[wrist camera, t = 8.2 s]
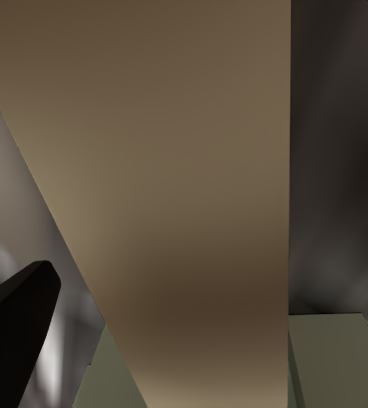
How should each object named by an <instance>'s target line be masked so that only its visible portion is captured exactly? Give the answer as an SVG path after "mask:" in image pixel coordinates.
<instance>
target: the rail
mask: <svg viewBox="0 0 368 408" xmlns="http://www.w3.org/2000/svg"><path fill="white" fill-rule="evenodd" d="M290 52H291V0H0V113H1V115H2V117H3V119H4V121H5V123H6V125H7V127H8V129H9V131H10V133H11V134H12V137H13V139H14V141H15V143H16V145H17V147H18V149H19V151H20V152H21V154H22V157H23V159H24V161H25V163H26V165H27V166H28V169H29V171H30V173H31V175H32V176H33V179H34V181H35V183H36V184H37V187H38V188H39V191H40V193H41V195H42V197H43V199H44V201H45V203H46V205H47V207H48V209H49V211H50V213H51V215H52V216H53V219H54V221H55V223H56V225H57V227H58V228H59V231H60V232H61V235H62V236H63V239H64V240H65V242H66V245H67V247H68V249H69V251H70V253H71V255H72V257H73V259H74V261H75V263H76V264H77V267H78V269H79V271H80V273H81V275H82V277H83V279H84V281H85V283H86V284H87V287H88V289H89V291H90V293H91V295H92V297H93V299H94V301H95V303H96V305H97V307H98V309H99V311H100V313H101V315H102V317H103V319H104V321H105V323H106V325H107V327H108V329H109V331H110V333H111V335H112V337H113V339H114V341H115V343H116V345H117V347H118V349H119V351H120V353H121V355H122V357H123V359H124V361H125V363H126V365H127V367H128V369H129V371H130V373H131V375H132V377H133V379H134V381H135V383H136V385H137V387H138V389H139V391H140V393H141V395H142V397H143V399H144V401H145V403H146V405H147V407H148V408H287V404H288V287H289V169H290Z"/></svg>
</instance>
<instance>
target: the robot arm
mask: <svg viewBox="0 0 368 408" xmlns="http://www.w3.org/2000/svg"><path fill="white" fill-rule="evenodd" d="M60 289H61V281H60V278H59V276H58V274H57V272H56V271H55V269H54V267H53V265H52V263H51V262H49V261H47V260H43V261H35V262H33V263H31V264H30V265H28V266H27V267H25V268H24V269H22V270H21V271H19V272H18V273H16V274H15V275H13V276H12V277H10V278H9V279H7V280H6V281H5V282H3V283H2V284H0V408H18V407H19V404H20V402H21V399H22V397H23V394H24V392H25V389H26V387H27V384H28V382H29V379H30V377H31V374H32V372H33V369H34V367H35V364H36V362H37V359H38V357H39V354H40V352H41V349H42V346H43V344H44V341H45V339H46V336H47V333H48V330H49V326H50V323H51V319H52V316H53V313H54V309H55V306H56V302H57V299H58V295H59V292H60Z"/></svg>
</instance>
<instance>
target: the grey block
mask: <svg viewBox="0 0 368 408" xmlns="http://www.w3.org/2000/svg"><path fill="white" fill-rule="evenodd" d="M288 364H289V365H288V404H287V408H368V325H367V323H366V321H365V319H364V317H363V314H362V313H354V314H320V315H288ZM72 408H148V407H147V405H146V403H145V401H144V399H143V397H142V395H141V393H140V391H139V389H138V387H137V385H136V383H135V381H134V379H133V377H132V375H131V373H130V371H129V369H128V367H127V365H126V363H125V361H124V359H123V357H122V355H121V353H120V351H119V349H118V347H117V345H116V343H115V341H114V339H113V337H112V335H111V333H110V331H109V329H108V327H107V325H106V323H105V326H104V329H103V332H102V335H101V337H100V340H99V343H98V346H97V348H96V351H95V354H94V357H93V359H92V362H91V365H87V368H86V371H85V373H84V376H83V379H82V381H81V384H80V387H79V390H78V392H77V395H76V398H75V400H74V403H73V406H72Z"/></svg>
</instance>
